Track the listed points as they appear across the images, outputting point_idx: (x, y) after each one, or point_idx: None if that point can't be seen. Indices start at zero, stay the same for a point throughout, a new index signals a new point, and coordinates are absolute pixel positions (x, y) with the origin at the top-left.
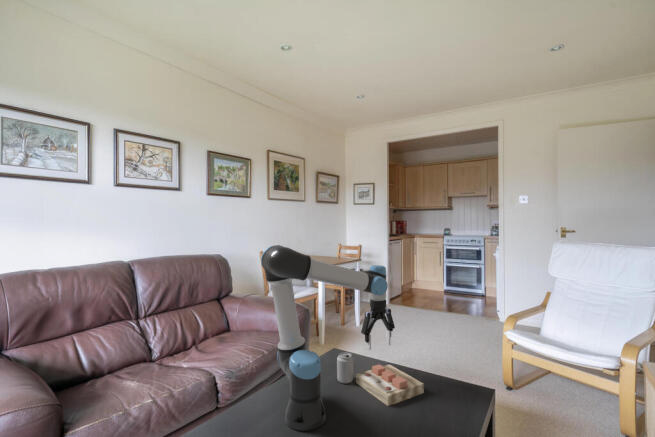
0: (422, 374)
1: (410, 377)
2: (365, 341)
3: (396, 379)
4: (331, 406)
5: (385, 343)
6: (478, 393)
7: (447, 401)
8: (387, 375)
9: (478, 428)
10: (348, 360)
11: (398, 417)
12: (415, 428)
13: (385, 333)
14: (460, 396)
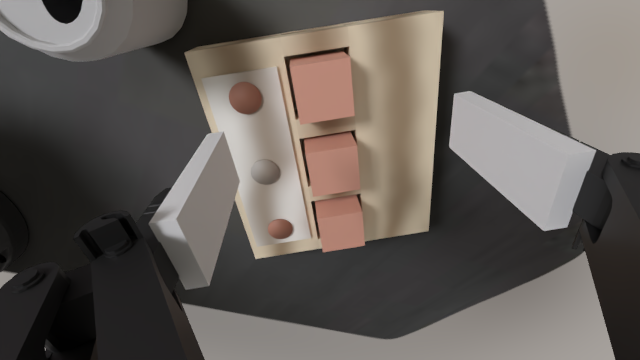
0: (537, 95)
1: (423, 180)
2: (165, 196)
3: (329, 228)
4: (51, 182)
5: (454, 94)
6: (546, 254)
7: (436, 260)
8: (314, 189)
9: (401, 336)
10: (78, 56)
11: (261, 278)
12: (278, 313)
13: (524, 135)
14: (490, 252)
